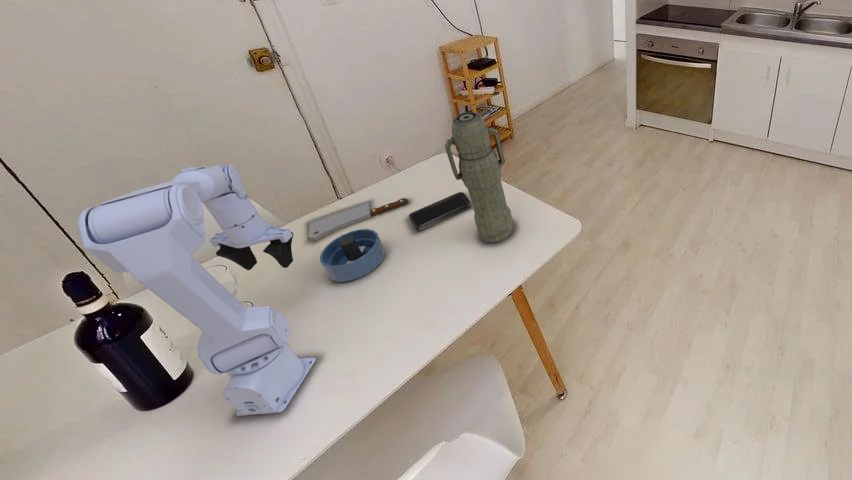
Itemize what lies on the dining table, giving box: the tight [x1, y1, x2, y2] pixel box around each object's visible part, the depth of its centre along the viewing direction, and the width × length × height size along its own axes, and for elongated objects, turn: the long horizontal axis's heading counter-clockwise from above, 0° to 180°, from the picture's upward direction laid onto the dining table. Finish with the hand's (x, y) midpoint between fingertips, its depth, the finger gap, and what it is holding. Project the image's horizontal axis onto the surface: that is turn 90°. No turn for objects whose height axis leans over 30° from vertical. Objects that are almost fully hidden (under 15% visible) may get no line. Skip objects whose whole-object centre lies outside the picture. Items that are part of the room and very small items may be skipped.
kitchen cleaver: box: [308, 197, 409, 242], centre depth 115 cm, size 24×1×10 cm
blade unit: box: [339, 236, 366, 264], centre depth 98 cm, size 6×4×7 cm, turn 3°
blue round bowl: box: [319, 228, 386, 283], centre depth 99 cm, size 12×12×6 cm
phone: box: [408, 191, 472, 232], centre depth 115 cm, size 8×1×15 cm
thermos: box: [444, 111, 515, 245], centre depth 100 cm, size 9×12×35 cm
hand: (270, 265), depth 88 cm, fingers open, 7 cm apart
